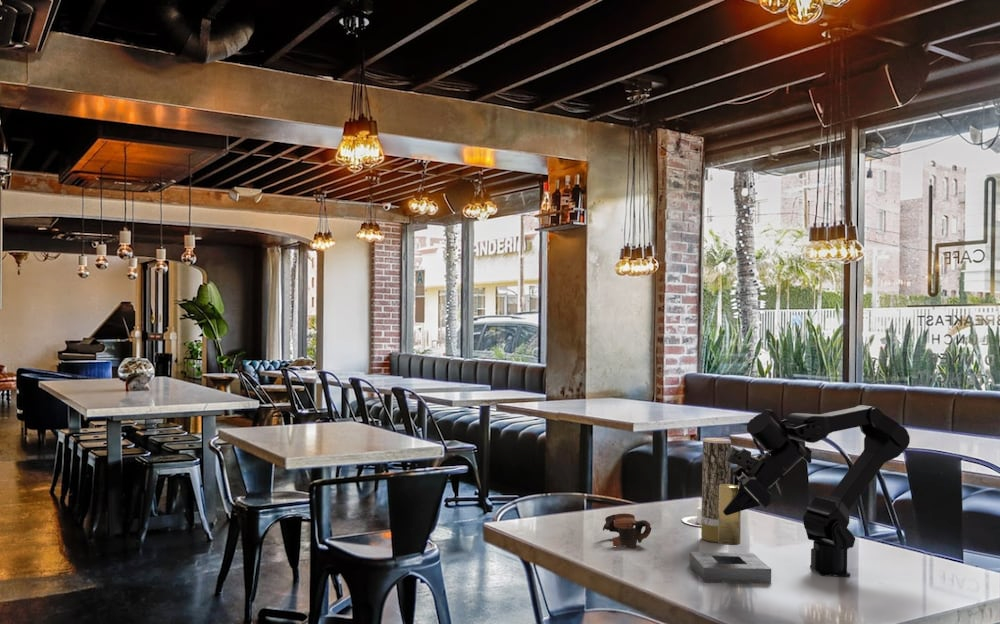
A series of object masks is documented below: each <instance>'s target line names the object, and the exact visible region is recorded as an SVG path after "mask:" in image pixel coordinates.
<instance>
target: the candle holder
mask: <svg viewBox="0 0 1000 624" xmlns="http://www.w3.org/2000/svg"><path fill="white" fill-rule="evenodd" d="M691 519H692V520H696V524H694V523H692V522H688V521H691ZM681 521H682V522H683V523H685V524H687V525H691V526H695V527H702V506H698V507H697V508H696V515H695V516H685V517H683V518H681ZM698 523H699V524H698Z"/></svg>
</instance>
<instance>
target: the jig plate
mask: <svg viewBox="0 0 1000 624" xmlns="http://www.w3.org/2000/svg"><path fill="white" fill-rule="evenodd" d="M689 567H690V568H691V569H692V570H693V571H694V573H696V575H697V576H698V577H699V578H700V580H701V581H702V582H703V583H723V582H724V584H725V582H726V583H727V584H728V583H729V584H730V583H732V584H772V568H771V567H770V566H769V565H768V564H767V563H765V562H764V561H763V560H761V558H759V557H758V556H757V555H756V554H755V553H753V552H724V551H722V552H720V551H719V552H718V551H715V552H714V551H689ZM734 582H735V583H734ZM736 582H737V583H736Z"/></svg>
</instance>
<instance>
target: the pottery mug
mask: <svg viewBox="0 0 1000 624" xmlns="http://www.w3.org/2000/svg"><path fill="white" fill-rule="evenodd" d="M604 520H605V523H604V525H603V527H602V531H605V530H606V531H609V532H610V533H618V534H619V535H618V536H615V537H612V539H611V541H612V545H613V547H614V546H616V547H615V548H619V547H620V548H621V547H631V548H637V543H639V544H641V543H642V541H643V540H644V539H647V538H648V537H649V536H650V534H651V531H652V527H651V524H650V522H648V521H647V520H645V519H641V520H636V516H635V515H634V514H633V513H624V512H623V513H617V514H616V513H615V514H611V515H609V516H606V517H605V518H604ZM643 528H644V531H643V532H642V529H643Z"/></svg>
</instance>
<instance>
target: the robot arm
mask: <svg viewBox="0 0 1000 624" xmlns="http://www.w3.org/2000/svg"><path fill="white" fill-rule="evenodd" d="M858 427H859V428H860V432H861V433H862V434H863V435H864V438H863V451H862V452H861V453H860V454H859V456H858V457H857V459H856V460H855V461H854V463H853V464H852V465H851V467H850V468H849V470H848V471H847V472H846V473H845V474H844V476H843V477H842V478H841V480H840V481H839V483H838V484H837V485H836V486H835V488H834V489H833V491H832V492H831V493H830V495H829V496H827V497H825V498H824V497H820V496H815V497H814V498H813V499H812V501H811V503H810V505H809V506H807V507H806V508H805V512H804V515H803V518H802V519H803V527H804V529H805V532H806V536H807V539H808V540H809V541H813V546H812V548H811V549H810V565H809V567H810V568H811V569H812V570H813V571H815V572H816V573H817V574H818V575H820V576H826V575H837V577H839V576H840V577H851V573H850V572H849V571H848V550H849V549H852V548H853V547H854V545H855V542H856V537H855V536H854V535H853V533H852V532H851V531H850V530H849V528H848V526H849V524H850V511H851V509H852V508H853V507H854V505H855V503H857V501H858V500H859V498H860V497H861V496H862V494H863V493H864V491H866V489H867V487H868V486H869V485H870V483H871V482H872V480H873V479H874V478H875V476H876V475H877V474H878V473H879V472H880V470H881V468H882V467H883V466H884V464H886V463H887V462H890V461H892V460H894V459H896V458H898V457H899V456H900V455H902V454H903V453H904V452H905V451H906V450H907V448H908V447H909V445H910V442H911V440H910V439H911V438H910V435H909V432H908V430H907V429H906V427H905V426H903V425H901V424H899V422H897V421H895V420H894V419H892V418H891V417H890V416H887V415H886V414H884V413H883V411H882V410H881V409H880V408H878V407H876V406H872V405H863V404H860V405H857V406H854V407H850V408H845V409H840V410H833V411H829V412H824V413H821V414H820V413H819V414H816V413H805V412H804V413H803V412H802V413H799V412H795V413H794V412H793V413H789V414H788V415H787V417H786V419H783V420H781V419H780V418H779V417H778V416H777V414H776V413H775V411H774V410H772V409H768V408H767V409H766V408H765V409H764V410H763V412H762V413H759V414H757V415H755V416H753V418H751V419H750V420H749V422H748V423H747V425H746V431H747V433H748V434H750V436H751V437H752V438H754V440H755V441H756V442H757V443H758V444H759V445H760V446H761V447H762V448H763V449H764V450H766V452H765V453H764V454H763V453H758V455H756V456H754V455H752V451H750V450H748V449H746V448H745V447H743V448H742V449H740V448H738V447H736V446H733V445H731V449H730V451H729V453H728V455H727V457H726V459H727V461H729V462H730V463H731V464H732V465H737V466H736V467H735V468H733V470H732V472H733V473H734V474H735V475H734V474H733V476H732V477H733V480H732V481H733V485H738V493H737V494H736V495H735V496H734V498H733V499H732V500H731V501H730V503H729V504H728V505H727V507H726V508H725V509H724V511H723V513H724V514H725V515H726V516H727V515H730V514H733V513H736V512H739V511H741V512H742V511H745V510H748V509H753V508H756V507H760V506H763V507H764V508H767V507H769V505H770V504H771V503H773V494H772V493H771V487H773V485H775V483H777V481H779V480H781V481H783V480H784V479H785V478H786V476H785V475H786V474H787V473H788V472H789V471H790V470H791V469H792V468H793V467H794V466H795V465H796V464H798V463H799V462H800V461H801V460H802V459H803V460H804V461H806V462H807V463H808V464H812V452H813V451H812V449H810V447H808V446H803V445H802V444H801V443H800V442H805V443H812V444H814V443H818V442H819V441H821V440H824V439H826V438H827V437H828V436H829V434H832V433H834V432H835V433H836V432H840V431H844V430H849V429H853V428H854V429H855V428H858ZM799 441H800V442H799ZM736 475H737V476H736Z"/></svg>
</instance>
